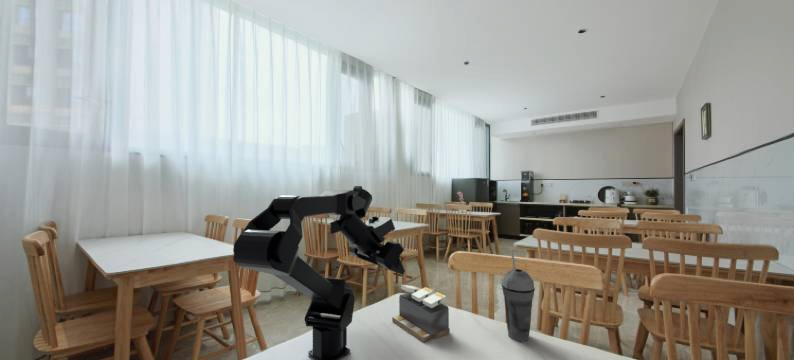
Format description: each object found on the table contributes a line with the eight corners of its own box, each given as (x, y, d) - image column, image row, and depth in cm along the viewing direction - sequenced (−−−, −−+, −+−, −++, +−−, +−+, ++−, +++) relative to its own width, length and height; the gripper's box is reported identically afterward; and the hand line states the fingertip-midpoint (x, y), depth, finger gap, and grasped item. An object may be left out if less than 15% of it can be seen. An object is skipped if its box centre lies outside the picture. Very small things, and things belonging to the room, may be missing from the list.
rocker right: (431, 308, 70) (431, 304, 70) (422, 303, 73) (422, 299, 73) (446, 300, 73) (446, 296, 73) (437, 295, 76) (436, 291, 76)
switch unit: (423, 342, 69) (423, 314, 69) (392, 321, 79) (392, 296, 79) (449, 332, 73) (449, 306, 73) (416, 313, 84) (416, 290, 84)
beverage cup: (539, 346, 67) (538, 255, 67) (504, 342, 68) (503, 253, 69) (531, 330, 74) (530, 248, 74) (500, 327, 76) (499, 247, 76)
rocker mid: (419, 302, 74) (419, 297, 74) (411, 297, 77) (410, 293, 77) (434, 294, 77) (433, 290, 77) (425, 290, 80) (425, 286, 80)
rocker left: (408, 292, 78) (409, 287, 78) (400, 288, 81) (401, 284, 81) (422, 293, 80) (423, 289, 81) (414, 290, 83) (415, 286, 83)
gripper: (397, 209, 71) (432, 250, 77) (358, 205, 86) (391, 240, 92) (367, 247, 66) (408, 288, 72) (332, 236, 81) (368, 270, 87)
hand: (393, 269), depth 81 cm, fingers open, 9 cm apart
